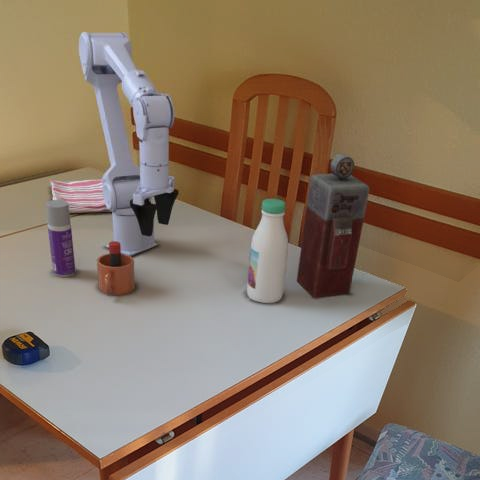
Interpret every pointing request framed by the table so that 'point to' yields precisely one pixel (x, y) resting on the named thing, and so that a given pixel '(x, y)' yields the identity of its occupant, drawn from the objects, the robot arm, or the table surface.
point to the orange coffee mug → (116, 275)
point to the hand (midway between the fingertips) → (155, 229)
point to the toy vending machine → (332, 230)
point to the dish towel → (80, 195)
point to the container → (60, 238)
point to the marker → (115, 254)
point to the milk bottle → (268, 254)
